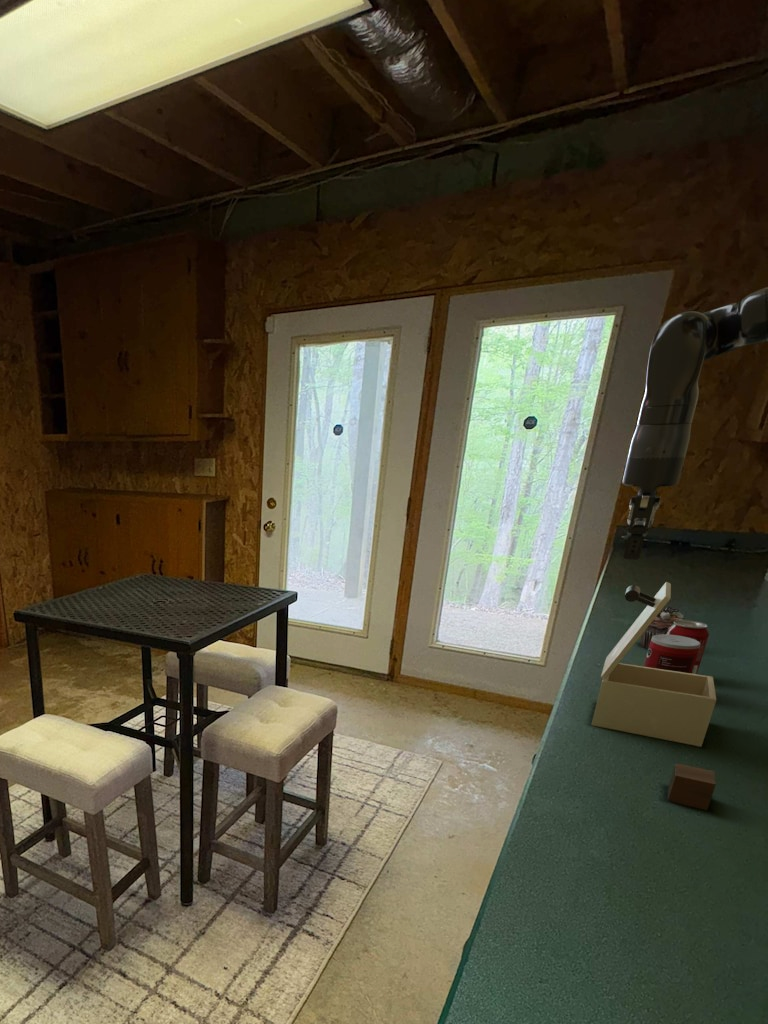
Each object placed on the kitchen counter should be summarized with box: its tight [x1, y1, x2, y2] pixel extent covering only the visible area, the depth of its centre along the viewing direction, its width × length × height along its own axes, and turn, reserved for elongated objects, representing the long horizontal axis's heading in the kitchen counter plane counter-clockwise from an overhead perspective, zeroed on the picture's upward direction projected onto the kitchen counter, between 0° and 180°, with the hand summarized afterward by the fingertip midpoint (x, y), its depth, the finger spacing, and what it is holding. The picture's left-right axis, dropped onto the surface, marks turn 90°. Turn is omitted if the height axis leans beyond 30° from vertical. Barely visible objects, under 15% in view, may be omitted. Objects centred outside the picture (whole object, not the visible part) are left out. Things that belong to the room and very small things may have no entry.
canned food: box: [643, 634, 700, 674], centre depth 125 cm, size 8×8×11 cm
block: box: [667, 763, 717, 811], centre depth 89 cm, size 4×4×4 cm
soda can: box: [667, 619, 710, 674], centre depth 132 cm, size 7×7×12 cm
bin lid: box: [600, 581, 672, 680], centre depth 111 cm, size 16×13×5 cm
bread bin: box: [591, 662, 717, 748], centre depth 112 cm, size 16×13×9 cm
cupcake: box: [640, 605, 686, 650], centre depth 150 cm, size 10×10×10 cm
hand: (632, 555), depth 107 cm, fingers open, 8 cm apart
